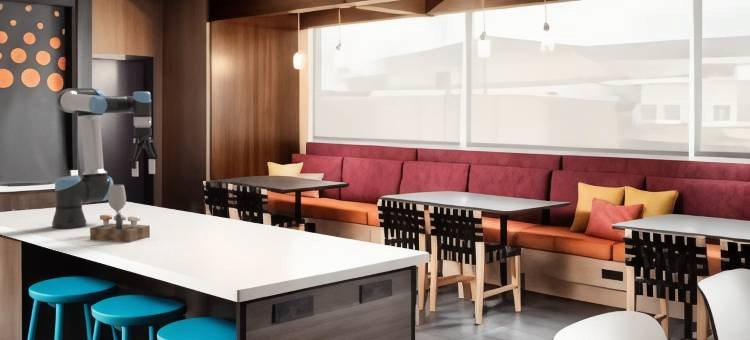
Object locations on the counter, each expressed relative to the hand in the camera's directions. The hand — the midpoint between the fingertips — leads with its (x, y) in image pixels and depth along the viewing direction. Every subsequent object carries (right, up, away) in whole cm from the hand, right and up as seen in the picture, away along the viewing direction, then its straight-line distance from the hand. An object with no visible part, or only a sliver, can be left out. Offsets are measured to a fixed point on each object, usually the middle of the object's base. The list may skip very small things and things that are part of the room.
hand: (143, 175), depth 378 cm
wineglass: (-13, -26, +7) cm, 30 cm away
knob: (0, -24, -14) cm, 28 cm away
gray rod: (-6, -23, -18) cm, 29 cm away
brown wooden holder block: (-7, -27, -11) cm, 30 cm away
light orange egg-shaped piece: (-14, -24, -9) cm, 29 cm away
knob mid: (-7, -24, -11) cm, 27 cm away
